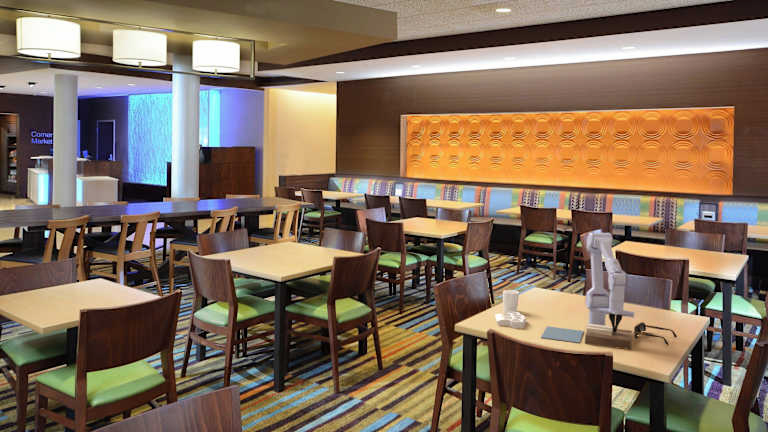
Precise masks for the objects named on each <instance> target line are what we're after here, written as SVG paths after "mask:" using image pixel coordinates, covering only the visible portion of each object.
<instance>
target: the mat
mask: <svg viewBox="0 0 768 432" xmlns="http://www.w3.org/2000/svg"><path fill="white" fill-rule="evenodd" d="M583 334H584V330H579V329H573V328H563V327H555V326H546V327H545V329H544V331H543V332H542V335H541V337H540V338H541V339H545V340H553V341H559V342H560V341H561V342H565V343H573V344H574V343H576V344H580V343H581V340H582V337H583Z"/></svg>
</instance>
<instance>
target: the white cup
mask: <svg viewBox="0 0 768 432" xmlns="http://www.w3.org/2000/svg"><path fill="white" fill-rule="evenodd" d="M519 294H520V292H519V291H517V290H514V289H504V290H502V310H503V313H508V312H518V305H519Z"/></svg>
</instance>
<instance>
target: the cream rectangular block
mask: <svg viewBox="0 0 768 432" xmlns="http://www.w3.org/2000/svg"><path fill="white" fill-rule="evenodd" d="M587 326H588V327H587ZM587 326H586V331H587V333H595V334H602V335H610V336H612V329H613V328H612V325H611V326H609V325H606V326H603V325H595V324H587Z"/></svg>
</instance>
